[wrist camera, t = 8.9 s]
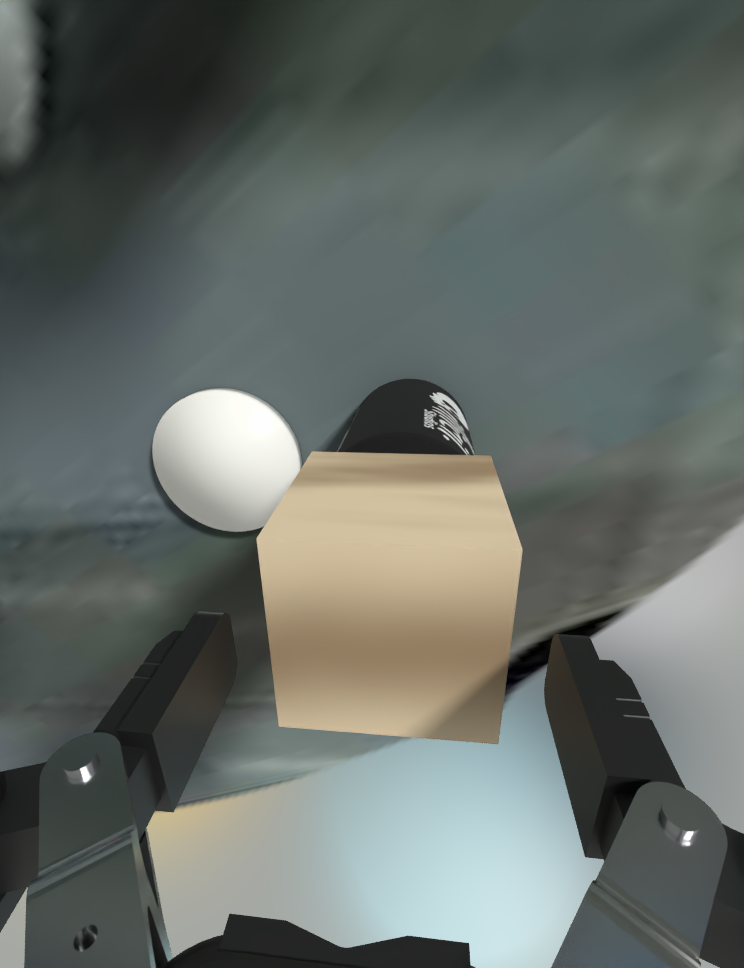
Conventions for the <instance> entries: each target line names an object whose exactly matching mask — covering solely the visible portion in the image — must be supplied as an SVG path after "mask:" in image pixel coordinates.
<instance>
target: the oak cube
mask: <svg viewBox="0 0 744 968" xmlns="http://www.w3.org/2000/svg"><path fill="white" fill-rule="evenodd" d="M257 547H258V556H259V564H260V572H261V580H262V589H263V597H264V605H265V614H266V622H267V630H268V639H269V647H270V655H271V664H272V672H273V680H274V688H275V697H276V705H277V713H278V722H279V727H292V728H304V729H317V730H329V731H341V732H354V733H366V734H379V735H391V736H404V737H416V738H428V739H441V740H453V741H466V742H479V743H490V744H498V742H499V734H500V726H501V718H502V710H503V702H504V694H505V686H506V678H507V670H508V662H509V654H510V646H511V638H512V630H513V622H514V614H515V606H516V598H517V590H518V582H519V574H520V566H521V558H522V547H521V544H520V541H519V538H518V535H517V532H516V529H515V526H514V523H513V520H512V517H511V514H510V511H509V508H508V505H507V502H506V499H505V496H504V493H503V491H502V488H501V485H500V482H499V479H498V476H497V473H496V470H495V467H494V464H493V461H492V458H491V456H479V455H436V454H393V453H350V452H311V454H310V456H309V457H308V459H307V460H306V462H305V463H304V465H303V467H302V468H301V470H300V471H299V473H298V474H297V476H296V478H295V479H294V481H293V482H292V484H291V485H290V487H289V488H288V490H287V492H286V493H285V495H284V496H283V498H282V499H281V501H280V503H279V504H278V506H277V507H276V509H275V510H274V512H273V514H272V515H271V517H270V518H269V520H268V521H267V523H266V524H265V526H264V528H263V529H262V531H261V532H260V534H259V535H258V537H257Z"/></svg>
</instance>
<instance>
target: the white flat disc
mask: <svg viewBox="0 0 744 968" xmlns="http://www.w3.org/2000/svg"><path fill="white" fill-rule="evenodd" d="M152 455H153V463H154V467H155V471H156V474H157V476H158V479H159V481H160V483H161V485H162V487H163V489H164V490H165V492H166V493H167V495H168V496H169V498H170V499H171V500H172V501H173V502H174V503H175V504H176V505H177V506H178V507H179V508H180V509H181V510H182V511H183V512H184V513H186V514H187V515H188V516H190V517H191V518H193V519H195V520H196V521H198V522H200V523H202V524H204V525H206V526H209V527H212V528H215V529H219V530H224V531H232V532H243V531H250V530H254V529H258V528H261V527H263V526H265V524H266V523H267V521H268V520H269V518H270V517H271V515H272V514H273V512H274V510H275V509H276V507H277V506H278V504H279V503H280V501H281V499H282V498H283V496H284V495H285V493H286V492H287V490H288V488H289V487H290V485H291V484H292V482H293V481H294V479H295V478H296V476H297V474H298V473H299V471H300V470H301V468H302V457H301V451H300V448H299V444H298V441H297V439H296V437H295V434H294V433H293V431H292V429H291V427H290V426H289V424H288V423H287V422H286V420H285V419H284V418H283V417H282V416H281V415H280V414H279V413H278V412H277V411H276V410H275V409H274V408H273V407H272V406H270V405H269V404H268V403H266V402H265V401H263V400H262V399H260V398H258V397H256V396H254V395H252V394H250V393H247V392H244V391H241V390H236V389H232V388H210V389H205V390H201V391H198V392H196V393H193V394H191V395H189V396H187V397H186V398H184V399H182V400H180V401H178V402H177V403H176V404H174V405H173V406H172V407H171V408H170V409H169V410H168V411H167V412H166V413H165V414H164V416H163V417H162V418H161V420H160V422H159V424H158V426H157V428H156V431H155V434H154V439H153V446H152Z"/></svg>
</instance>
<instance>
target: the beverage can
mask: <svg viewBox="0 0 744 968" xmlns="http://www.w3.org/2000/svg"><path fill="white" fill-rule="evenodd" d="M337 452H350V453H393V454H436V455H475V452H474V448H473V445H472V441H471V437H470V433H469V429H468V425H467V421H466V418H465V415H464V413H463V411H462V409H461V407H460V405H459V404H458V403H457V401H456V400H455V399H454V398H453V397H452V396H451V395H450V394H449V393H448V392H447V391H445V390H444V389H442V388H441V387H439V386H437V385H435V384H433V383H430V382H427V381H423V380H418V379H402V380H396V381H393V382H389V383H387V384H385V385H383V386H381V387H379V388H377V389H376V390H374V391H373V392H372V393H371V394H370V395H368V396H367V398H366V399H365V400H364V401H363V402H362V404H361V405H360V407H359V409H358V410H357V412H356V414H355V416H354V418H353V420H352V422H351V424H350V426H349V428H348V430H347V432H346V434H345V436H344V438H343V440H342V442H341V444H340V446H339V448H338V450H337Z"/></svg>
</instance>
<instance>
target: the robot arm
mask: <svg viewBox="0 0 744 968" xmlns="http://www.w3.org/2000/svg"><path fill="white" fill-rule="evenodd" d="M236 669H237V658H236V652H235V645H234V639H233V633H232V626H231V620H230V617H229V615H228V614H227V613H216V612H200V611H199V612H196V613H195V614H194V616H193V617H192V618H191V620H190V621H189V623H188V624H187V626H186V627H185V629H184V630H183V631H173V632H172V633H171V634H169V635H168V636H167V637H165V638H164V639H163V640H161V641H160V642H159V643H158V644H156V645H155V647H154V648H153V650H152V651H151V652H150V654H149V655H148V656H147V658H146V659H145V661H144V664H143V665H141V666H140V668H139V669H138V670H137V672H136V673H135V675H134V678H133V679H131V680H130V682H129V683H128V684H127V686H126V687H125V689H124V690H123V691H122V693H121V694H120V696H119V697H118V698H117V700H116V701H115V703H114V704H113V705H112V707H111V708H110V710H109V711H108V712H107V714H106V715H105V717H104V718H103V719H102V721H101V722H100V724H99V725H98V726H97V728H96V729H95V730H94V732H93V733H90V734H86V735H83V736H80V737H78V738H76V739H73V740H72V741H70V742H68V743H67V744H65V745H64V746H62V747H61V748H60V749H59V750H57V751H56V752H55V753H54V754H53V755H52V756H51V757H50V759H49V760H48V761H47V762H45V763H41V764H36V765H32V766H27V767H22V768H17V769H12V770H7V771H3V772H0V932H1V930H2V929H3V927H4V925H5V924H6V922H7V920H8V918H9V917H10V915H11V913H12V912H13V910H14V908H15V907H16V904H17V903H18V902H19V900H20V898H21V897H22V895H23V893H24V891H25V890H26V888H27V887H28V890H27V899H26V930H25V963H24V968H475V967H473V966H471V965H470V952H469V943H462V942H453V941H446V940H438V939H430V938H422V937H413V936H405V937H400V938H395V939H390V940H385V941H380V942H375V943H371V944H365V945H361V946H356V947H351V948H343V947H339V946H337V945H335V944H333V943H331V942H329V941H327V940H324V939H322V938H320V937H318V936H316V935H314V934H312V933H310V932H308V931H306V930H304V929H302V928H300V927H298V926H296V925H294V924H292V923H290V922H288V921H284V920H276V919H268V918H260V917H252V916H244V915H236V914H229V917H228V921H227V924H226V927H225V930H224V934H223V935H221V936H217V937H213V938H211V939H208V940H205V941H202V942H200V943H198V944H196V945H194V946H192V947H190V948H188V949H187V950H185V951H183V952H182V953H180V954H179V955H177V956H176V957H174V958H173V957H172V953H171V948H170V944H169V940H168V937H167V932H166V928H165V924H164V919H163V914H162V908H161V904H160V897H159V892H158V887H157V881H156V875H155V870H154V864H153V859H152V853H151V848H150V842H149V837H148V832H147V829H146V827H147V825H148V823H149V821H150V819H151V817H152V815H153V813H154V811H155V810H156V811H165V812H174V810H175V808H176V806H177V804H178V801H179V799H180V797H181V795H182V793H183V791H184V789H185V786H186V784H187V782H188V780H189V778H190V776H191V773H192V771H193V769H194V767H195V765H196V763H197V761H198V758H199V756H200V754H201V752H202V750H203V748H204V746H205V743H206V741H207V739H208V737H209V735H210V733H211V731H212V728H213V726H214V724H215V722H216V720H217V718H218V715H219V713H220V711H221V709H222V707H223V705H224V703H225V700H226V698H227V696H228V694H229V692H230V690H231V688H232V685H233V683H234V679H235V675H236ZM544 692H545V693H544V695H545V705H546V710H547V714H548V718H549V722H550V726H551V729H552V733H553V737H554V741H555V744H556V748H557V752H558V756H559V760H560V764H561V767H562V771H563V775H564V779H565V782H566V786H567V790H568V794H569V798H570V801H571V805H572V809H573V813H574V817H575V820H576V824H577V828H578V831H579V836H580V839H581V843H582V847H583V851H584V854H585V857H589V858H598V859H604V864H603V866H602V868H601V871H600V872H599V875H598V877H597V879H596V880H595V881H593V882H592V883H591V885H590V886H589V888H588V890H587V892H586V894H585V897H584V898H583V901H582V903H581V905H580V907H579V909H578V912H577V913H576V916H575V918H574V920H573V922H572V924H571V927H570V928H569V931H568V933H567V935H566V937H565V939H564V942H563V944H562V946H561V948H560V950H559V952H558V954H557V956H556V958H555V961H554V963H553V965H552V967H551V968H701V963H700V961H699V958H701V959H703V960H705V961H707V962H709V963H712V964H713V965H716V966H718V967H720V968H744V834H743V833H740V832H738V831H736V830H733V829H731V828H729V827H728V826H725V825H724V824H722V823H721V821H720V820H719V818H718V817H717V815H716V814H715V813H714V812H713V810H712V809H711V808H710V807H709V806H708V805H707V804H706V803H705V802H704V801H702V800H701V799H700V798H699V797H697V796H696V795H694V794H693V793H691V792H690V791H688V790H686V788H685V787H684V785H683V783H682V781H681V779H680V777H679V775H678V773H677V771H676V769H675V767H674V765H673V763H672V760H671V758H670V757H669V754H668V753H667V750H666V748H665V746H664V744H663V742H662V740H661V738H660V736H659V734H658V732H657V730H656V728H655V726H654V724H653V722H652V720H650V718H649V713H648V711H647V709H646V707H645V705H644V703H642V702H641V697H640V695H639V693H638V691H637V689H636V687H635V685H634V683H633V681H632V679H631V678H630V677H629V676H628V675H627V674H626V673H625V672H624V671H623V670H622V669H621V668H620V667H619V666H618V665H617V664H616V663H615V662H614V661H610V660H599V657H598V655H597V653H596V651H595V648H594V646H593V643H592V641H591V639H590V638H589V637H588V636H576V635H559V634H555V635H554V637H553V639H552V644H551V650H550V656H549V661H548V667H547V673H546V678H545V687H544Z"/></svg>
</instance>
